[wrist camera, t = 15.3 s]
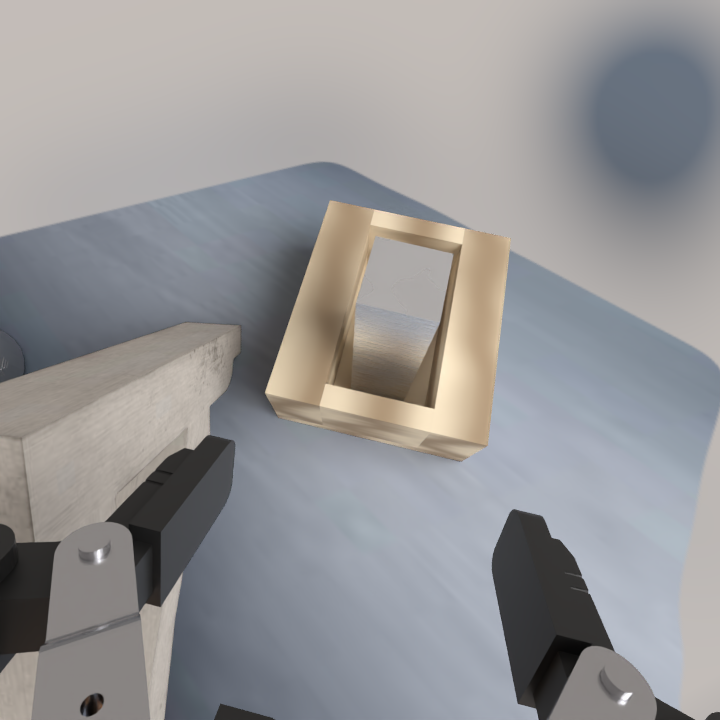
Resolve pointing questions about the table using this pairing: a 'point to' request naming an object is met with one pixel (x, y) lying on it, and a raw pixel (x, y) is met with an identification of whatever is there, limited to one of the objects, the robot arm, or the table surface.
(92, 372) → the grey letter a
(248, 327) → the table surface
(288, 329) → the beech well block
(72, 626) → the robot arm
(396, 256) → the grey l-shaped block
